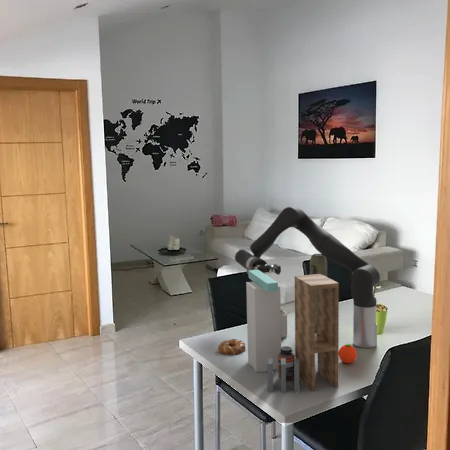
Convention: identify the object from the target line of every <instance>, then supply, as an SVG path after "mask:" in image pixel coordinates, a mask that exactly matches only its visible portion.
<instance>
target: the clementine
mask: <svg viewBox="0 0 450 450" xmlns="http://www.w3.org/2000/svg"><path fill="white" fill-rule="evenodd" d="M357 356H358V352H357V349H356V348H355V347H354V346H352V343H351V344H350V343H346V344H344V345H341V346H340V347H339V349H338V359H339V360H340V361H342V362H343V363H345V364H351V363H354V362H355V361H356V359H357Z"/></svg>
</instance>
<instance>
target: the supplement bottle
mask: <svg viewBox="0 0 450 450" xmlns="http://www.w3.org/2000/svg"><path fill="white" fill-rule="evenodd" d="M281 358H286V382H287V381H293V380H294V359H295V353H294V352H293V350H292V347H291V346H289V345H283V346H281V352H280V353H279V354H278V369H277V371H278V372H277V373H278V374H277V375H278V379H280V380H281Z"/></svg>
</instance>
